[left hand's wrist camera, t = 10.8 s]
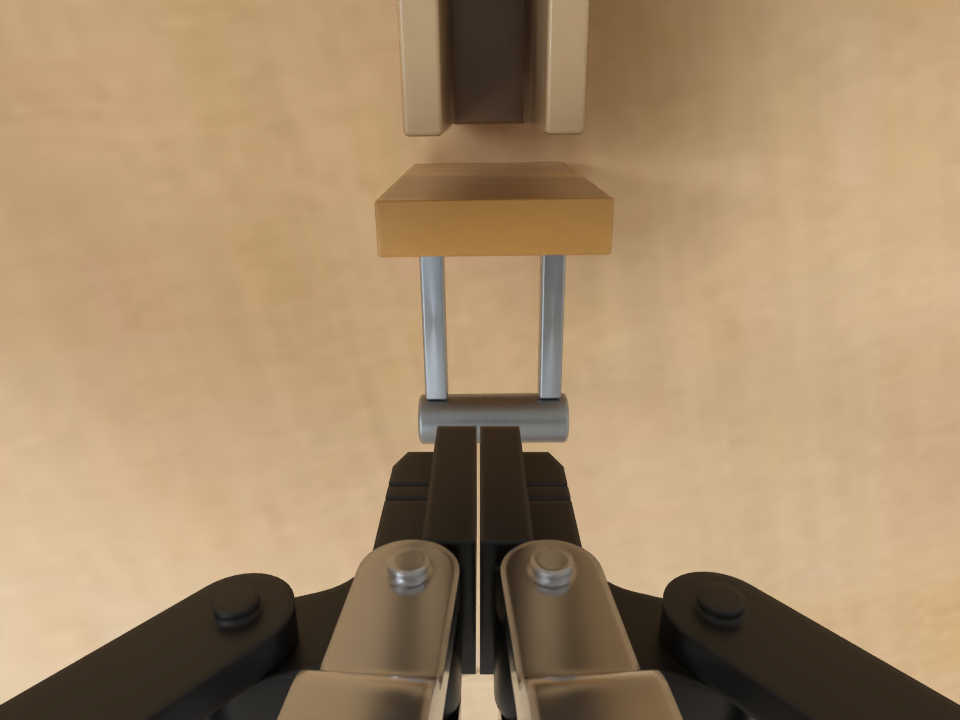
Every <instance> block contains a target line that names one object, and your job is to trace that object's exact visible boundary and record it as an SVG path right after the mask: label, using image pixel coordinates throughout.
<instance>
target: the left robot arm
mask: <svg viewBox="0 0 960 720" xmlns="http://www.w3.org/2000/svg"><path fill="white" fill-rule="evenodd" d="M476 556H477V426H437V431H436V439H435V447H434V452H408V453H407V454H406V455H405V456H403V457H402V458H401V459H400V460H399V461H398V462H397V463H396V464H395V465H394V466H393V469H392V473H391V477H390V481H389V487H388V490H387V494H386V501H385V502H384V506H383V511H382V515H381V519H380V523H379V527H378V531H377V536H376V540H375V544H374V548H373V551H372V552H370V553H369V554H368V555H367V556H366V557H365V558H364V559H363V560H362V562H361V563H360V565H359V567H358V569H357V572H356V575H355V577H353V578H352V579H350V580H349V581H347V582H345V583H343V584H341V585H339V586H337V587H334V588H332V589H329V590H325V591H321V592H317V593H313V594H308V595H304V596H300V597H295V598H294V594H293V591H292V589H291V587H290V586H289V585H288V584H287V583H286V582H285V581H284V580H282V579H280V578H278V577H275V576H272V575H268V574H262V573H249V574H240V575H235V576H231V577H227V578H224V579H222V580H219V581H216V582H214V583H212V584H210V585H208V586H206V587H205V588H203V589H201V590H199V591H198V592H196V593H194V594H193V595H191V596H189V597H187V598H186V599H184V600H182V601H180V602H179V603H177V604H175V605H173V606H172V607H170V608H168V609H166V610H165V611H163V612H161V613H159V614H158V615H156V616H154V617H153V618H151V619H149V620H147V621H146V622H144V623H142V624H140V625H139V626H137V627H135V628H133V629H132V630H130V631H128V632H126V633H125V634H123V635H121V636H120V637H118V638H116V639H114V640H113V641H111V642H109V643H107V644H106V645H104V646H102V647H100V648H99V649H97V650H95V651H93V652H92V653H90V654H88V655H87V656H85V657H83V658H81V659H80V660H78V661H76V662H74V663H73V664H71V665H69V666H67V667H66V668H64V669H62V670H60V671H59V672H57V673H55V674H54V675H52V676H50V677H48V678H47V679H45V680H43V681H41V682H40V683H38V684H36V685H34V686H33V687H31V688H29V689H27V690H26V691H24V692H22V693H20V694H19V695H17V696H15V697H14V698H12V699H10V700H8V701H7V702H5V703H3V704H1V705H0V720H461V679H462V674H476ZM480 674H494V695H495V701H496V704H497V707H498V709H499V720H960V705H959V704H957V703H955V702H953V701H952V700H950V699H948V698H946V697H945V696H943V695H941V694H939V693H938V692H936V691H934V690H933V689H931V688H929V687H927V686H926V685H924V684H922V683H920V682H919V681H917V680H915V679H913V678H912V677H910V676H908V675H906V674H905V673H903V672H901V671H900V670H898V669H896V668H894V667H893V666H891V665H889V664H887V663H886V662H884V661H882V660H880V659H879V658H877V657H875V656H873V655H872V654H870V653H868V652H867V651H865V650H863V649H861V648H860V647H858V646H856V645H854V644H853V643H851V642H849V641H847V640H846V639H844V638H842V637H840V636H839V635H837V634H835V633H833V632H832V631H830V630H828V629H827V628H825V627H823V626H821V625H820V624H818V623H816V622H814V621H813V620H811V619H809V618H807V617H806V616H804V615H802V614H800V613H799V612H797V611H795V610H794V609H792V608H790V607H788V606H787V605H785V604H783V603H781V602H780V601H778V600H776V599H774V598H773V597H771V596H769V595H767V594H766V593H764V592H762V591H761V590H759V589H757V588H755V587H754V586H752V585H750V584H748V583H746V582H744V581H742V580H740V579H737V578H735V577H732V576H728V575H725V574H720V573H714V572H693V573H687V574H684V575H681V576H679V577H677V578H675V579H673V580H672V581H671V582H670V583H669V584H668V585H667V587H666V588H665V591H664V594H663V598H659V597H654V596H650V595H646V594H641V593H637V592H633V591H629V590H626V589H623V588H620V587H618V586H615V585H613V584H611V583H610V582H608V581H607V580H606V577H605V575H604V572H603V569H602V567H601V565H600V563H599V562H598V560H597V559H596V558H595V557H594V556H593V555H592V554H591V553H590V552H588V551H586V550H585V549H583V548H582V546H581V541H580V537H579V533H578V528H577V524H576V519H575V515H574V511H573V506H572V502H571V500H570V493H569V489H568V487H567V480H566V476H565V472H564V467H563V466H562V465H561V464H560V463H559V462H558V461H557V460H556V459H555V458H554V457H553V456H552V455H551V454H550V453H549V452H522V444H521V436H520V428H519V426H480Z"/></svg>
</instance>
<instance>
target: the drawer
mask: <svg viewBox="0 0 960 720" xmlns="http://www.w3.org/2000/svg"><path fill="white" fill-rule="evenodd" d="M397 5H398V26H399V46H400V67H401V87H402V107H403V128H404V133H405V135H406V136H439V135H442V134H443V133H444V132H445V131H446V130H447V129H449V128H450V127H451V126H452V125H453V124H522V123H525V124H528V125H530V126H532V127H534V128H536V129H538V130H540V131H542V132H545V133H547V134H549V135H564V134H581V133H583V131H584V120H585V95H586V71H587V47H588V22H589V0H397ZM613 211H614V199H613V198H612V197H610V196H609V195H608V194H606V193H605V192H603V191H602V190H601V189H599V188H598V187H597V186H595V185H594V184H592V183H591V182H590V181H588V180H587V179H586V178H584V177H583V176H581V175H580V174H579V173H577V172H576V171H574V170H573V169H572V168H570V167H569V166H568V165H566V164H565V163H563V162H543V163H459V164H414V165H413V166H412V167H411V168H410V169H409V170H408V171H407V172H406V173H405V174H404V175H403V176H402V177H401V178H400V179H399V180H397V181H396V182H395V183H394V184H393V185H392V186H391V187H390V188H389V189H388V190H387V191H386V192H385V193H384V194H383V195H382V196H381V197H380V198H379V199H377V200H376V201H375V216H376V231H377V246H378V255H379V257H420V278H421V301H422V323H423V346H424V369H425V392H426V394H423V395H421V397H420V399H419V409H418V428H419V438H420V441H421V443H423V444H435V439H436V431H437V426H477V443H480V426H519V428H520V436H521V443H545V442H565V441H567V438H568V433H569V408H568V400H567V397H566V395H565V394H564V393H561V379H562V350H563V320H564V291H565V261H566V255H608V254H610V253H611V246H612V229H613ZM527 255H540V300H539V349H538V393H512V394H448V362H447V330H446V297H445V264H444V256H527Z"/></svg>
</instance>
